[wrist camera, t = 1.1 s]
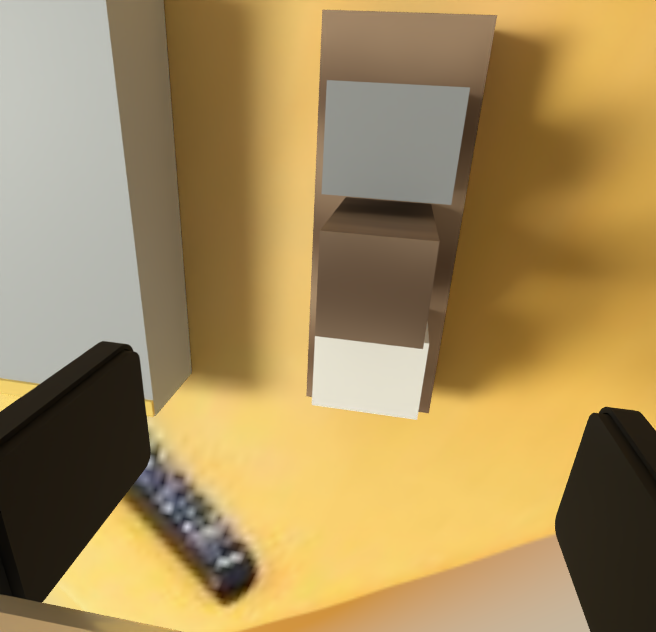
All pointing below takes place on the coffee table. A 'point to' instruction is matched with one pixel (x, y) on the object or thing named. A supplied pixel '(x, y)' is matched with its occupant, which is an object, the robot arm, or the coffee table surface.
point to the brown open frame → (392, 215)
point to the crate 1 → (392, 140)
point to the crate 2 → (369, 376)
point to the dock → (89, 193)
